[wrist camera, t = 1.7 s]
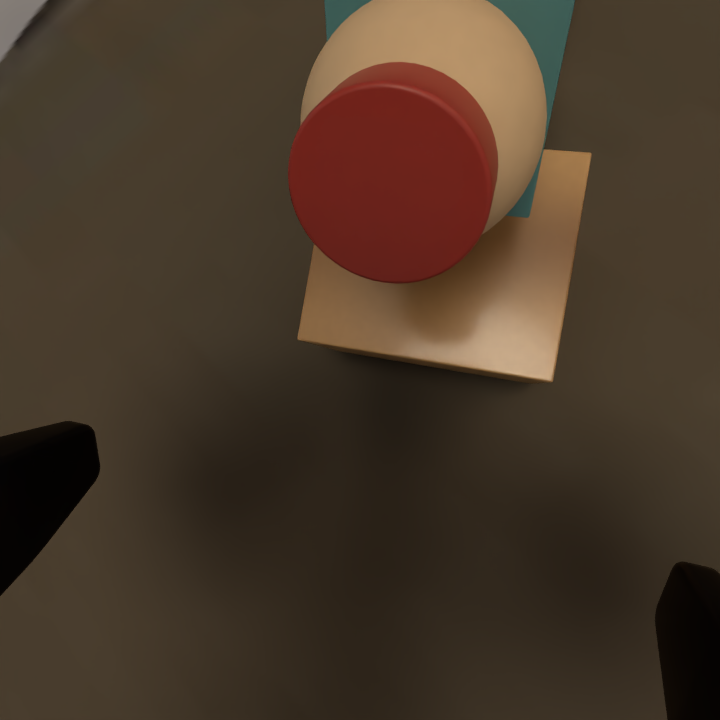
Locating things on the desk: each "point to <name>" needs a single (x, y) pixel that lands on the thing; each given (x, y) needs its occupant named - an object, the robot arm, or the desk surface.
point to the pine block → (467, 293)
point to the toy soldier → (423, 128)
